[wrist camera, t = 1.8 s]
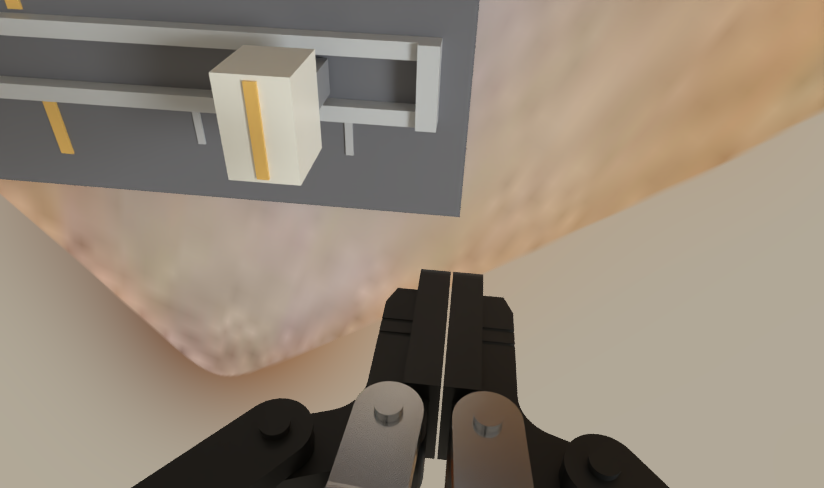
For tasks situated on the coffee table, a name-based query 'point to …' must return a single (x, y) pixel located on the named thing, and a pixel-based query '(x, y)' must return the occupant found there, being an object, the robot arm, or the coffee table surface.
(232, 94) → the fader
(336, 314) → the coffee table surface
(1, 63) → the console
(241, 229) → the coffee table surface
